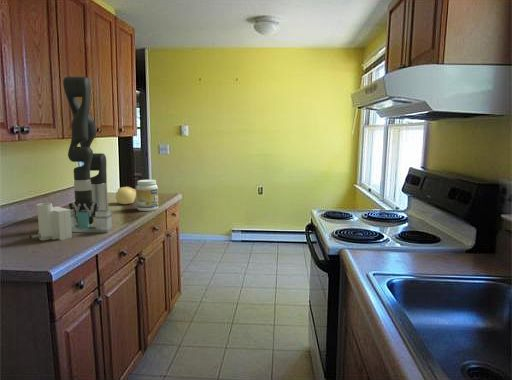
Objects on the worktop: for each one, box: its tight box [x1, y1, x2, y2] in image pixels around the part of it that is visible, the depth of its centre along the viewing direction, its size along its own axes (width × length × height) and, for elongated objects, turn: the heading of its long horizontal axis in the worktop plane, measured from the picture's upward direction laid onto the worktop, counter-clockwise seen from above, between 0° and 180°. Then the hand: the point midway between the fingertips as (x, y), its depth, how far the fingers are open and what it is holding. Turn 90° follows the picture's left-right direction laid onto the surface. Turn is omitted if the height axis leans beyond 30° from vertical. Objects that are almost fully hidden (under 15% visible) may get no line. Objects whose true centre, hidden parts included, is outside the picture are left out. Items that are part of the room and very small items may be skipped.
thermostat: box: [29, 202, 73, 241], centre depth 161 cm, size 12×14×15 cm
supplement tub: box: [135, 179, 159, 212], centre depth 222 cm, size 12×12×17 cm
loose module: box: [76, 210, 94, 227], centre depth 184 cm, size 5×5×7 cm
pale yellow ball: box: [115, 186, 136, 205], centre depth 240 cm, size 12×12×11 cm
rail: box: [68, 208, 113, 234], centre depth 173 cm, size 5×22×10 cm, turn 89°
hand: (85, 223), depth 184 cm, fingers closed on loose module, 5 cm apart
